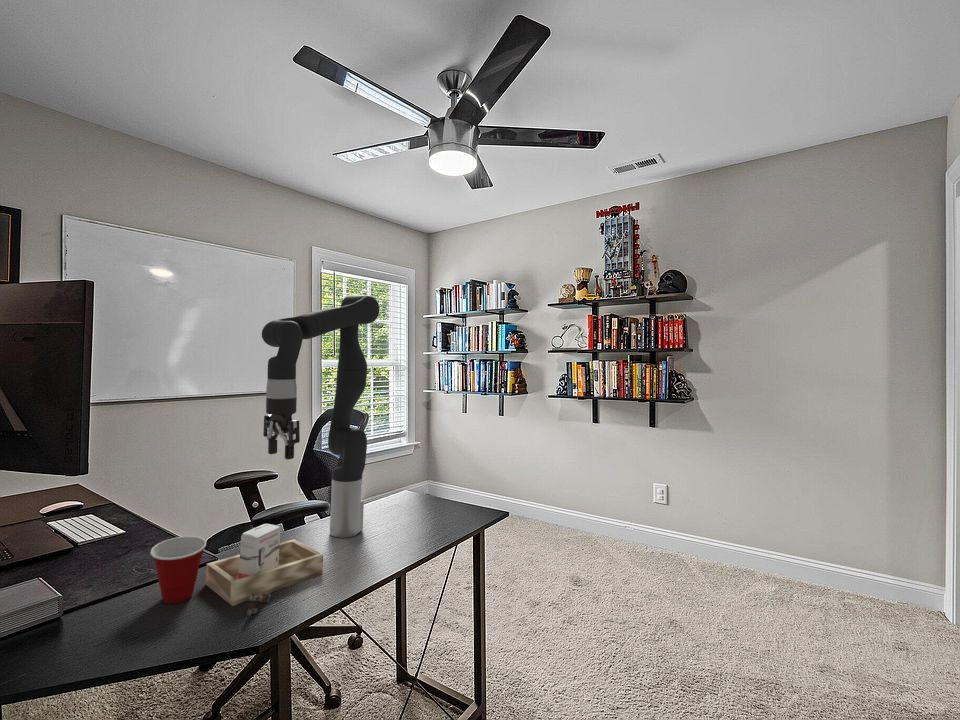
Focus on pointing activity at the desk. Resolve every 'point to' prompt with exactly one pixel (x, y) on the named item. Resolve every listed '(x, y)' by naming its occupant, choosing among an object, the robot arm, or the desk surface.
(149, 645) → the desk surface
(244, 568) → the ink box
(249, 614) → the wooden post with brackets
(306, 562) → the trough
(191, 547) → the plastic cup
